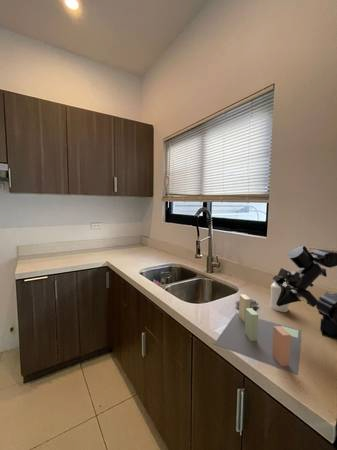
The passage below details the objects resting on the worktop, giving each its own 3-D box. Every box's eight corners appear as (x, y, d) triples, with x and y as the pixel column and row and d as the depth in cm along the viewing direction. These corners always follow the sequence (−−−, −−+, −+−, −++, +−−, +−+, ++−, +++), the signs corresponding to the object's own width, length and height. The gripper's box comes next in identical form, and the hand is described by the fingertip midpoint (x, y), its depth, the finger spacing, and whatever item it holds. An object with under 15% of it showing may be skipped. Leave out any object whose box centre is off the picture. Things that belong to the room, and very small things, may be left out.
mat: (301, 331, 88) (301, 330, 88) (297, 376, 65) (297, 374, 65) (236, 313, 102) (236, 312, 102) (213, 345, 79) (213, 343, 79)
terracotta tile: (279, 354, 73) (280, 326, 72) (288, 365, 68) (290, 334, 68) (272, 355, 73) (273, 326, 72) (281, 366, 68) (283, 335, 67)
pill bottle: (271, 303, 113) (273, 275, 112) (289, 308, 109) (291, 278, 107) (268, 309, 107) (270, 279, 106) (287, 314, 102) (288, 283, 101)
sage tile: (250, 332, 86) (251, 308, 85) (257, 340, 81) (258, 314, 80) (244, 333, 86) (245, 308, 85) (250, 340, 81) (251, 314, 80)
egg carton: (246, 314, 102) (246, 306, 102) (233, 308, 108) (233, 300, 108) (260, 309, 108) (260, 300, 107) (247, 303, 114) (247, 295, 114)
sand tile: (244, 315, 99) (245, 294, 98) (249, 321, 94) (250, 299, 93) (238, 316, 99) (239, 294, 98) (243, 322, 94) (244, 299, 93)
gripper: (278, 255, 92) (251, 282, 92) (311, 268, 73) (278, 302, 73) (294, 273, 93) (268, 300, 93) (331, 291, 75) (299, 323, 75)
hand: (277, 305), depth 83 cm, fingers closed
